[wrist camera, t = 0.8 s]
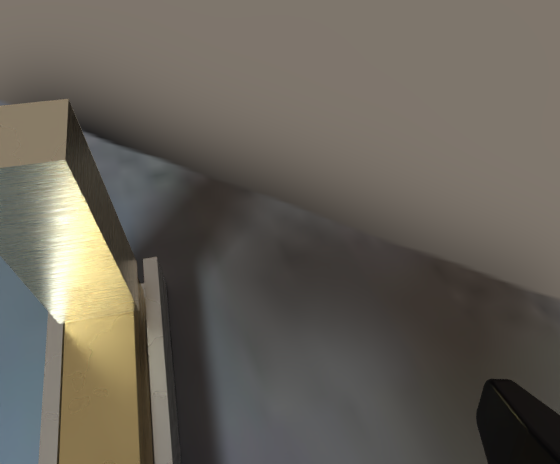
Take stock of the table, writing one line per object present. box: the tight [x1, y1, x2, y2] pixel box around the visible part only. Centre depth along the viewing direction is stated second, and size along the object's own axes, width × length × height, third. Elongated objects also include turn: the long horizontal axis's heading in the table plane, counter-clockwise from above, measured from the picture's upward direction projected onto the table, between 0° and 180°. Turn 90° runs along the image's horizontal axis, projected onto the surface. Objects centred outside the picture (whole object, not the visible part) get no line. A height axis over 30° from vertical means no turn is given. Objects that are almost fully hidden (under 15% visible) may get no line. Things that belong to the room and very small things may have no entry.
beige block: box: [0, 99, 153, 464], centre depth 17 cm, size 12×4×13 cm, turn 12°
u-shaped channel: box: [39, 257, 182, 464], centre depth 22 cm, size 14×5×3 cm, turn 12°
